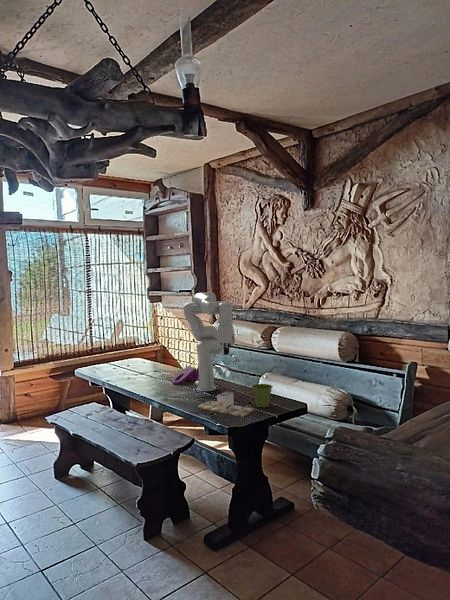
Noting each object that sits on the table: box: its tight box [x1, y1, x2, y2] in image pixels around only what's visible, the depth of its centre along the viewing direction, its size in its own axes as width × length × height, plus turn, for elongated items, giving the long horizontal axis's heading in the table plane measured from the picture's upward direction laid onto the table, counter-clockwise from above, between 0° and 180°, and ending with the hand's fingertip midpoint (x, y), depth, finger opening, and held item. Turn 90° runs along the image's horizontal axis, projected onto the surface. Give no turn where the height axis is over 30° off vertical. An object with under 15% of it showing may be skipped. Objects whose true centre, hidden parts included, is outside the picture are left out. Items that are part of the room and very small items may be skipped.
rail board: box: [197, 400, 256, 418], centre depth 252 cm, size 30×12×1 cm, turn 55°
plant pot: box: [251, 383, 273, 408], centre depth 257 cm, size 12×12×11 cm
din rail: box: [204, 400, 248, 412], centre depth 252 cm, size 26×4×2 cm, turn 55°
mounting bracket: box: [171, 365, 199, 386], centre depth 315 cm, size 9×8×18 cm
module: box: [216, 390, 235, 410], centre depth 252 cm, size 5×9×8 cm, turn 144°
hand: (226, 354), depth 269 cm, fingers closed
